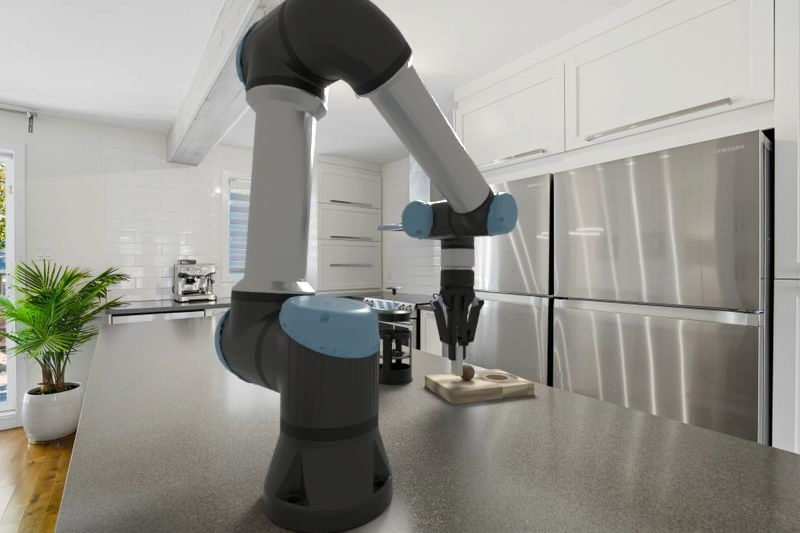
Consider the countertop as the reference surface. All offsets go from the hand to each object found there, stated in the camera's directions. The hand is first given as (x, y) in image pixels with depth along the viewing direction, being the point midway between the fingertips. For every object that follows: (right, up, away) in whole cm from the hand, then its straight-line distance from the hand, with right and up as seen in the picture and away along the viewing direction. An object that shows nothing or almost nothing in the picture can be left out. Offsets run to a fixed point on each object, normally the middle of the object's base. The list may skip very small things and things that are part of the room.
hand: (456, 374), depth 92 cm
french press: (-14, -4, +10) cm, 18 cm away
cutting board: (+5, -4, +2) cm, 7 cm away
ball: (+2, 0, +1) cm, 2 cm away
